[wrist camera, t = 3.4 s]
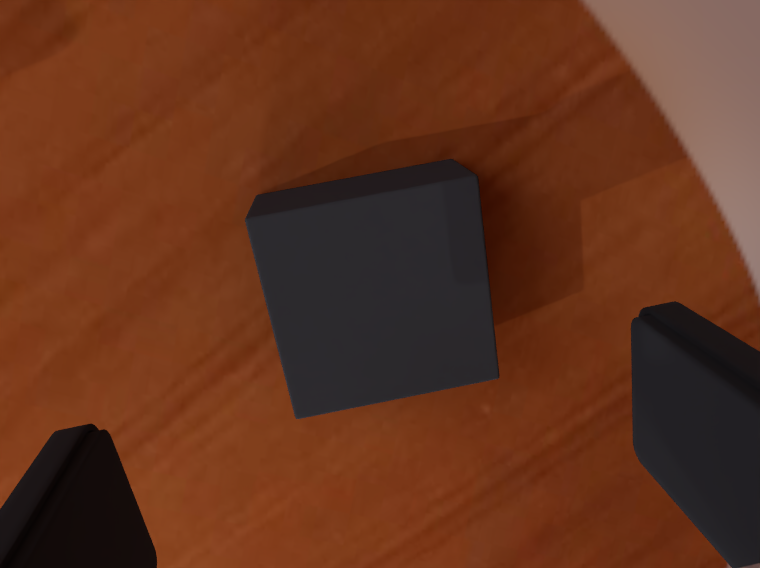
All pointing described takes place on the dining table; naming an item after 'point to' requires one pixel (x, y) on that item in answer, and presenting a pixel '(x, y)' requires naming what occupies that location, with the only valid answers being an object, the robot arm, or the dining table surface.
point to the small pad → (376, 285)
